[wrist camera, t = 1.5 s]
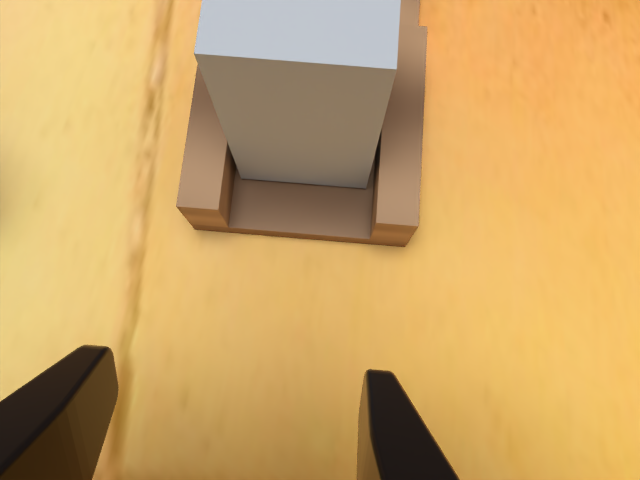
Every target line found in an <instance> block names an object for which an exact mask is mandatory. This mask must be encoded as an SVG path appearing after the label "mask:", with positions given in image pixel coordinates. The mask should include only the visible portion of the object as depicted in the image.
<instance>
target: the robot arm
mask: <svg viewBox="0 0 640 480" xmlns="http://www.w3.org/2000/svg"><path fill="white" fill-rule="evenodd" d="M117 397H118V380H117V374H116V368H115V362H114V356H113V352H112V350H111V349H110V348H109V347H106V346H96V345H83V346H81V347H79V348H77V349H76V350H74V351H73V352H71V353H70V354H69V355H67V356H66V357H64V358H63V359H61V360H60V361H58V362H57V363H55V364H54V365H53V366H51V367H50V368H48V369H47V370H45V371H44V372H42V373H41V374H40V375H38V376H37V377H35V378H34V379H32V380H31V381H29V382H28V383H27V384H25V385H24V386H22V387H21V388H19V389H18V390H16V391H15V392H14V393H12V394H11V395H9V396H8V397H6V398H5V399H3V400H2V401H0V480H92V478H93V475H94V472H95V468H96V465H97V462H98V459H99V456H100V452H101V449H102V446H103V443H104V440H105V436H106V433H107V430H108V427H109V424H110V421H111V417H112V414H113V411H114V408H115V405H116V401H117ZM357 480H460V479H459V478H458V476H457V474H456V473H455V471H454V470H453V468H452V466H451V465H450V463H449V462H448V460H447V458H446V457H445V455H444V454H443V452H442V450H441V449H440V447H439V445H438V444H437V442H436V441H435V439H434V437H433V436H432V434H431V433H430V431H429V429H428V428H427V426H426V425H425V423H424V421H423V420H422V418H421V417H420V415H419V413H418V412H417V410H416V408H415V407H414V405H413V404H412V402H411V400H410V399H409V397H408V396H407V394H406V392H405V391H404V389H403V388H402V386H401V384H400V383H399V381H398V379H397V378H396V376H395V375H394V374H393V373H392V372H390V371H383V370H372V369H369V370H367V371H366V372H365V375H364V380H363V387H362V394H361V401H360V408H359V421H358V451H357Z"/></svg>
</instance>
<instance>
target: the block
mask: <svg viewBox="0 0 640 480" xmlns="http://www.w3.org/2000/svg"><path fill="white" fill-rule="evenodd" d="M400 4H401V0H202V5H201V11H200V18H199V24H198V31H197V38H196V44H195V51H194V55H195V57H196V60H197V63H198V65H199V68H200V71H201V73H202V76H203V78H204V81H205V84H206V86H207V89H208V92H209V94H210V97H211V100H212V102H213V105H214V108H215V110H216V113H217V116H218V118H219V121H220V124H221V126H222V129H223V131H224V134H225V137H226V139H227V142H228V145H229V147H230V150H231V153H232V155H233V158H234V161H235V163H236V166H237V169H238V171H239V174H240V177H241V179H253V180H266V181H278V182H290V183H302V184H315V185H327V186H339V187H351V188H364V189H366V187H367V183H368V179H369V175H370V171H371V167H372V163H373V159H374V156H375V152H376V148H377V144H378V140H379V136H380V132H381V128H382V125H383V121H384V117H385V113H386V109H387V105H388V101H389V97H390V94H391V90H392V86H393V82H394V78H395V74H396V70H397V56H398V39H399V22H400Z"/></svg>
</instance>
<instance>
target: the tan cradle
mask: <svg viewBox="0 0 640 480" xmlns="http://www.w3.org/2000/svg"><path fill="white" fill-rule="evenodd" d="M419 5H420V0H401V4H400V22H399V39H398V56H397V70H396V74H395V78H394V82H393V86H392V90H391V94H390V97H389V101H388V105H387V109H386V113H385V117H384V121H383V125H382V128H381V132H380V136H379V140H378V144H377V148H376V152H375V156H374V159H373V163H372V167H371V171H370V175H369V179H368V183H367V187H366V189H364V188H351V187H339V186H327V185H315V184H302V183H290V182H278V181H266V180H253V179H241V177H240V174H239V171H238V169H237V166H236V163H235V161H234V158H233V155H232V153H231V150H230V147H229V145H228V142H227V139H226V137H225V134H224V131H223V129H222V126H221V124H220V121H219V118H218V116H217V113H216V110H215V108H214V105H213V102H212V100H211V97H210V94H209V92H208V89H207V86H206V84H205V81H204V78H203V76H202V73H201V71H200V68H199V65H197V71H196V78H195V85H194V91H193V98H192V105H191V111H190V118H189V124H188V131H187V138H186V144H185V151H184V158H183V164H182V171H181V178H180V184H179V191H178V197H177V204H176V207H177V208H178V209H179V210H180V212H181V213H182V214H183V215H184V217H185V218H186V219H187V220H188V221H189V223H190V224H191V225H192V226H193V228H194V229H196V230H209V231H221V232H233V233H245V234H257V235H269V236H281V237H293V238H305V239H317V240H329V241H341V242H353V243H365V244H377V245H389V246H401V247H405V246H406V244H407V243H408V241H409V240H410V238H411V237H412V235H413V234H414V232H415V231H416V229H417V228H418V226H419V204H420V181H421V159H422V136H423V114H424V92H425V69H426V47H427V27H425V26H418V25H419Z"/></svg>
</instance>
